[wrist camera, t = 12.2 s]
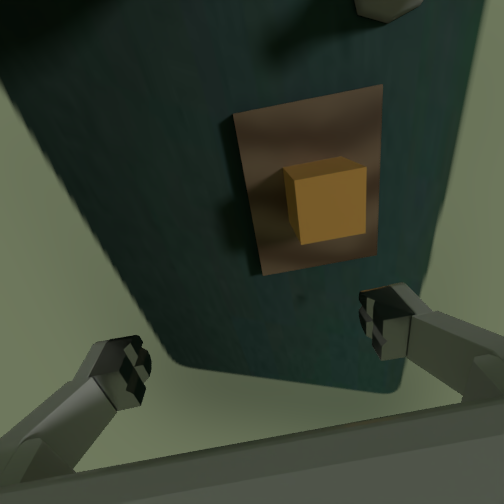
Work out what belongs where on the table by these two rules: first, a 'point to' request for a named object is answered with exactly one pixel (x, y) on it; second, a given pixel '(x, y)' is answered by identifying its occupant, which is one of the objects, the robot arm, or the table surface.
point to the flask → (385, 8)
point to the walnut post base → (304, 151)
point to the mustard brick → (326, 199)
